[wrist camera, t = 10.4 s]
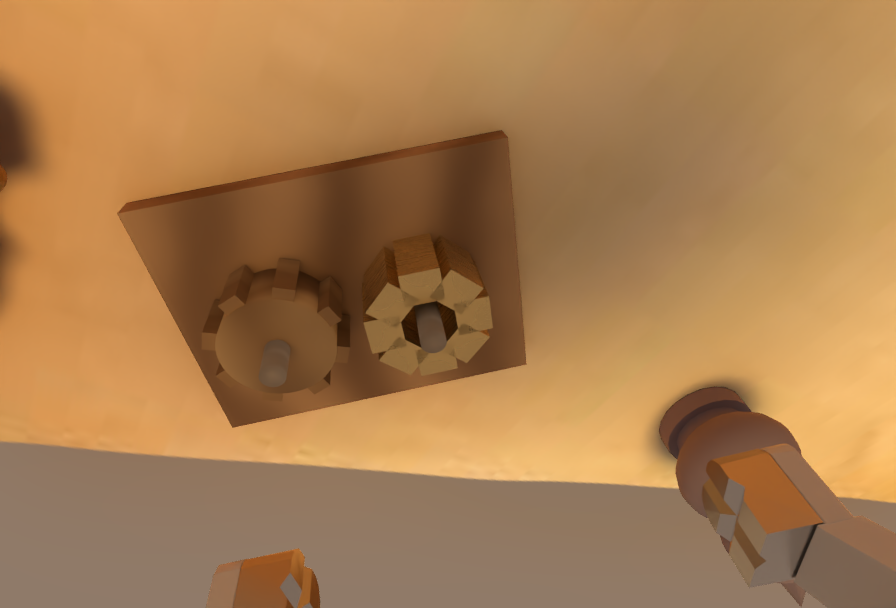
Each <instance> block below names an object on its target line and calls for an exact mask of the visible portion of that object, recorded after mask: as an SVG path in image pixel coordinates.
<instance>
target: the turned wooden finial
mask: <svg viewBox="0 0 896 608" xmlns="http://www.w3.org/2000/svg"><path fill="white" fill-rule="evenodd" d="M659 432H660V436H661V439H662V441H663V442H664V444H665V445H666V447H667V449H668V450H669V452H670V453H671V454H672V455H673V456H674V457H675V458H676V459H678V460H677V464H676V477H677V481H678V486H679V490H680V492H681V494H682V496H683V498H684V499H685V500H686V501H687V502H688V504H689V505H691V507H692V508H693V509H695V510H696V511H697V512H698V513H699V514H701V515H703V516H704V517H706V518H708V517H707V514H706V512H705V509H704V505H703V500H702V489H703V485H704V484H705V483H706V482H707V481H708V480H709V479H710V477H709V476H708V474H707V473H706V467H707V463H708V462H709V461H710V460H712V459H716V458H720V457H725V456H729V455H733V454H737V453H742V452H746V451H750V450H754V449H761V448H766V447H770V446H775V445H779V444H789V445H791V446H792V447H794V448H795V449H796V450H797V451H798V452H799V454H800V455H801V450H800V448H799V445H798V443H797V442H796V440H795V439H794V437H793V435H792V434H791V433H790V431H789V430H788V429H787V428H786V427H785V426H784V425H783V424H781V423H780V422H778V421H776V420H774V419H772V418H770V417H768V416H766V415H764V414H760V413H754V412H751V410H750V409H749V408H748V407H747V405H746V404H745V403H744V402H743V401H742V399H741V398H740V397H739V396H738V395H737V394H736V393H735V392H734V391H732V390H730V389H727V388H723V387H711V388H705V389H700V390H698V391H696V392H693V393H691V394H688V395H687V396H685V397H684V398H682V399H681V400H679V401H677V402H676V403H675V404H674V405H673V406H672V407H671V408H670V409H669V410H668V411H667V412H666V414H665V416H664V417H663V419H662V421H661V424H660V429H659ZM801 456H802V455H801ZM720 537H721V540H722V543H723V545H724V547H725V549H726V551H727V552H728V553H729V549H730V541H729V540H727V539H726V538H724V537H722V536H721V535H720ZM794 580H795V579H792V580H787V581H782V582H777V583H781V584H782V585H783V586H784V587H785V589H787V591H788V592H789V593H790V594H791V595H792V597H793V598H794V599H795V600H796V602H797V603H798V604H799V605H800V606H802V603H803V599H804V595H805V592H806V591H805V590H804V589H802V588H801V587H800V586H798V585H797V584H796V583H794Z"/></svg>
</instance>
